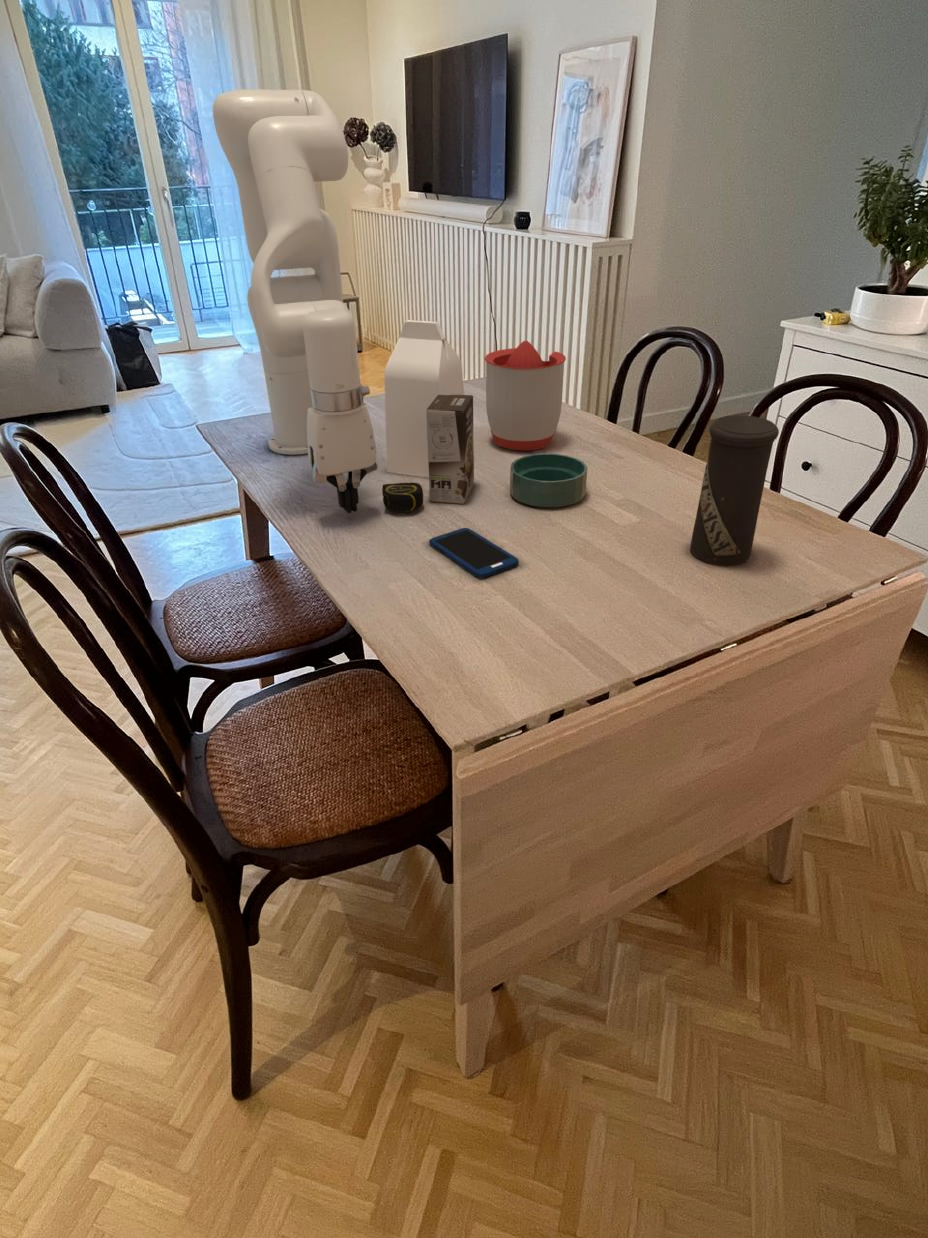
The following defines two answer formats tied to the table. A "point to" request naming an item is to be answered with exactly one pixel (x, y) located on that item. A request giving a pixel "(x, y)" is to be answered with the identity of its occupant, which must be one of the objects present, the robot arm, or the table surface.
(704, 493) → the container
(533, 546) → the table surface
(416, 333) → the milk
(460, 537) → the cell phone
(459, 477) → the coffee box
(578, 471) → the green bowl
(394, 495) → the tape measure
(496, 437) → the citrus juicer
